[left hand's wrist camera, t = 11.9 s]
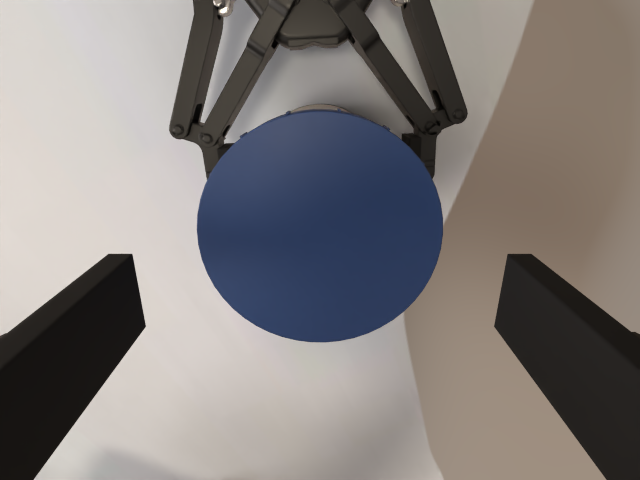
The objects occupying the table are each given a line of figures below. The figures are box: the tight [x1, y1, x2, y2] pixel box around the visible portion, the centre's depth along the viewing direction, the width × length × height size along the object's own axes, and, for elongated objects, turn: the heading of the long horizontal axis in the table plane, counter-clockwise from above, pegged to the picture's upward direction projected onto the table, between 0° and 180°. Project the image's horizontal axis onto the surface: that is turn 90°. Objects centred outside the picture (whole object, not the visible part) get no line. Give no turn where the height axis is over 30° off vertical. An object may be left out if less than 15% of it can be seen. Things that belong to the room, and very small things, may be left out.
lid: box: [197, 108, 443, 342], centre depth 18 cm, size 11×11×2 cm
